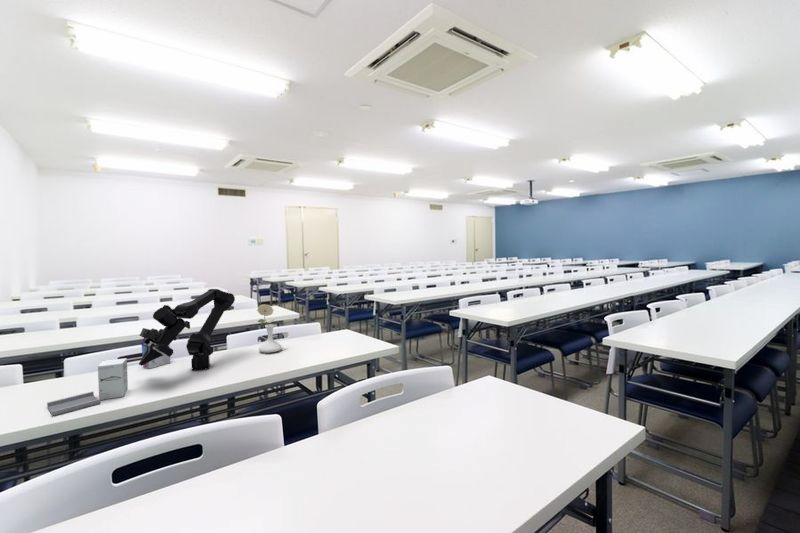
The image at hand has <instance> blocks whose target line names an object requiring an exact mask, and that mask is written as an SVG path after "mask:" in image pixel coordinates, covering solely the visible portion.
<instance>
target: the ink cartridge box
mask: <svg viewBox="0 0 800 533" xmlns="http://www.w3.org/2000/svg"><path fill="white" fill-rule="evenodd" d="M170 344H171V343H170ZM170 344H169V345H168V346H169V347H170V348H171V345H170ZM146 345H147V344H146ZM141 351H142V352H141V354H142V356H141V357H143V355H144V353H145V351H146V347H145V343H144V342H142V341H141ZM162 354H163V356H160V357H158V358H156V359H154V360H152V361H150V362H148V363H146V364H144V365H142V367H143V368H145V369H148V370H149V369H152V368H156V367H159V366H163V365H167V364H170V363H171V356H170V357H169V356H167V355H166V354H164V353H162Z"/></svg>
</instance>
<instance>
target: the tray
mask: <svg viewBox="0 0 800 533" xmlns="http://www.w3.org/2000/svg"><path fill="white" fill-rule="evenodd" d="M94 394H95V393H94V390H93V391H89V392H84V393H80V394H76V395H73V396H72V395H71V396H69V397H64V398H60V399H56V400H52V401H47V402H46V408H47V410H48V411H49V412H50V415H51V416H54V417H56V416H60V415H64V414H67V413H72V412H76V411H79V410H82V409H87V408H91V407H94V406H97V405H101V400H100V399H99V398H97V397H96V396H95V395H94Z"/></svg>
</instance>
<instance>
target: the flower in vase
mask: <svg viewBox="0 0 800 533" xmlns="http://www.w3.org/2000/svg"><path fill="white" fill-rule="evenodd" d="M256 311H257V312H258V314H259V315H260V316H264V319H263V318H260V319H259V320H258V321H257V323H260V324H261V323H262V324H263V323H266V324H265V325H264V327H265V328H266V331H267V339H266V341H264V342H263V343H262V344H261V345H260V346H259V347H258V351H259V352H261V353H267V354H269V353H276V352H279V351H280V350H281V349H282V348H283V346H282V345H281V344H280V343H279V342H277V341H276V340H275V339H274V337H273V332H274V331H273V330H274V327H275V326H276V325H275V324H270V323H273V321H275V318H273V319H271V320H269V321H267V320H266V317H268V316H271V315H273V313H274V309H273V306H272V305H269V304H260V305H258V307H257V310H256Z"/></svg>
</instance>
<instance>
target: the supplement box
mask: <svg viewBox="0 0 800 533" xmlns="http://www.w3.org/2000/svg"><path fill="white" fill-rule="evenodd" d="M97 378H98V399H100V401H102V400H107V399H109V400H110V399H113V398H114V399H115V398H122V397H125V395H126V393H127V392H128V388H129V387H128V386H129V385H128V384H129V382H128V380H129V378H128V358H126V357H125V358H117V359H116V358H115V359H108V360H107V359H106V360H103V361H101V362H100V363H99V365H97Z"/></svg>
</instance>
